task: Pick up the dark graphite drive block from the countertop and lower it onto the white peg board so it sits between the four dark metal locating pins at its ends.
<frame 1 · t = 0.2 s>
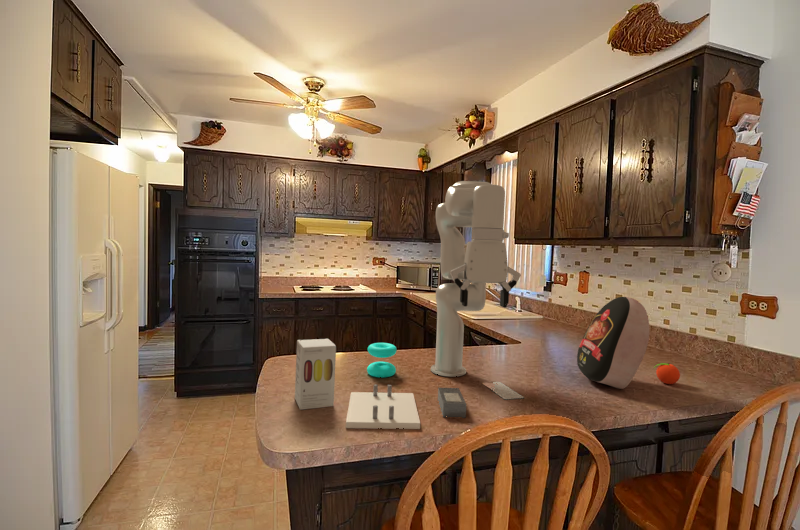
hand: (483, 306, 101), 30 cm above the counter, tool pointing down, fingers open, 9 cm apart
packaged food: (608, 383, 141), on the counter
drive: (450, 409, 113), on the counter
smartphone: (502, 392, 130), on the counter
supplement box: (313, 402, 114), on the counter
donuts: (381, 374, 141), on the counter
white peg board: (382, 411, 109), on the counter
clementine: (665, 383, 143), on the counter
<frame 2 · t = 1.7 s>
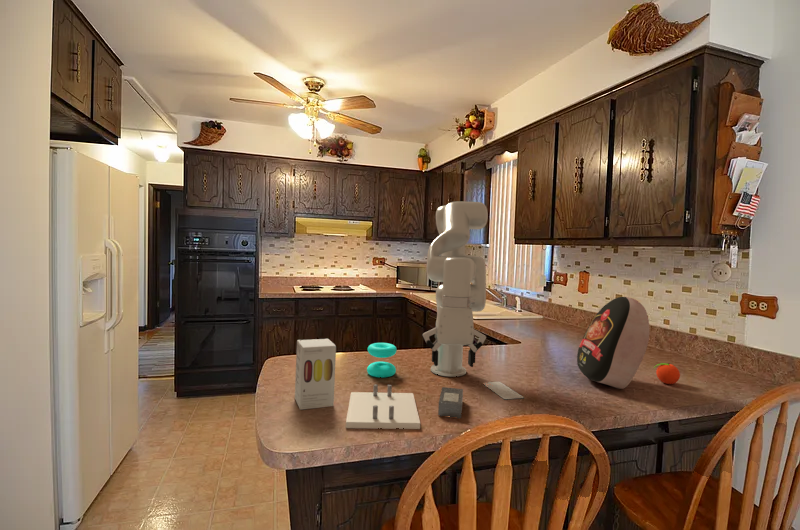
hand: (453, 365, 112), 12 cm above the counter, tool pointing down, fingers open, 9 cm apart
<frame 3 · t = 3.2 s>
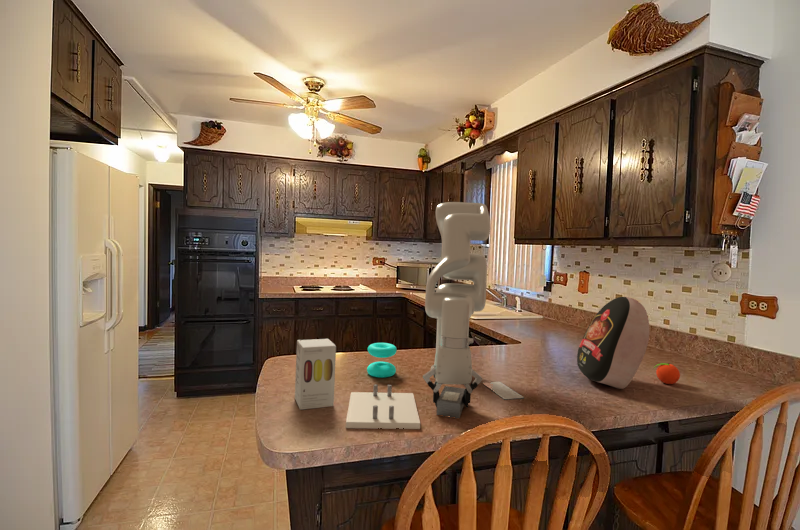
hand: (451, 405, 113), 1 cm above the counter, tool pointing down, fingers closed on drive, 7 cm apart
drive: (451, 408, 113), on the counter, touching gripper
everything else where it was.
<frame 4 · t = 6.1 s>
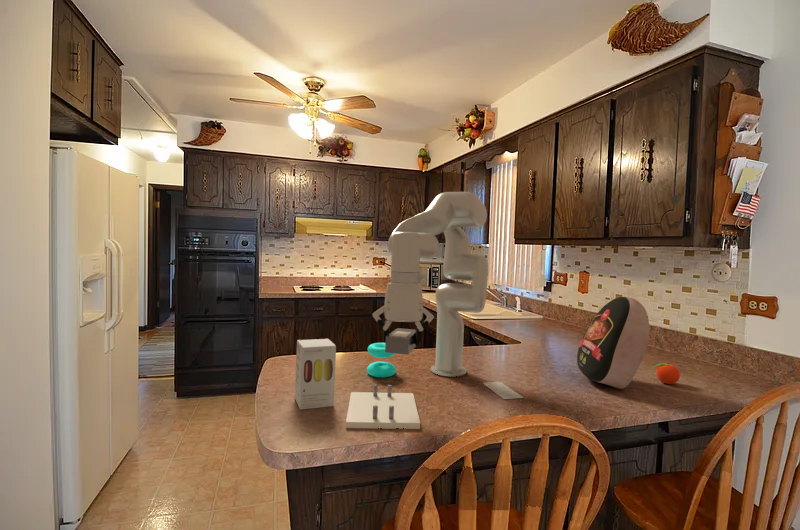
hand: (402, 344, 109), 18 cm above the counter, tool pointing down, fingers closed on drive, 7 cm apart
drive: (402, 348, 109), point 17 cm above the counter, touching gripper
everything else where it was.
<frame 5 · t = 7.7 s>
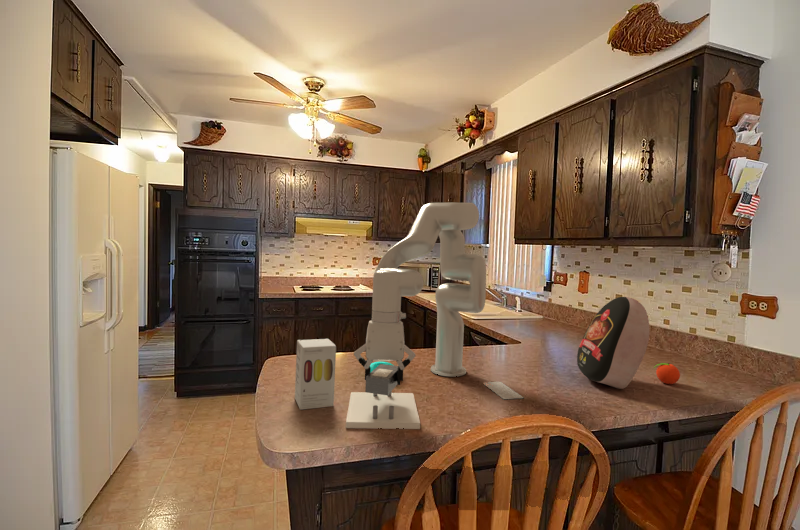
hand: (383, 382, 109), 8 cm above the counter, tool pointing down, fingers closed on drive, 7 cm apart
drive: (383, 386, 109), point 7 cm above the counter, touching gripper
everything else where it was.
when the fingers open (4 cm above the counter, at t = 9.1 s): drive drops 2 cm, resting on white peg board.
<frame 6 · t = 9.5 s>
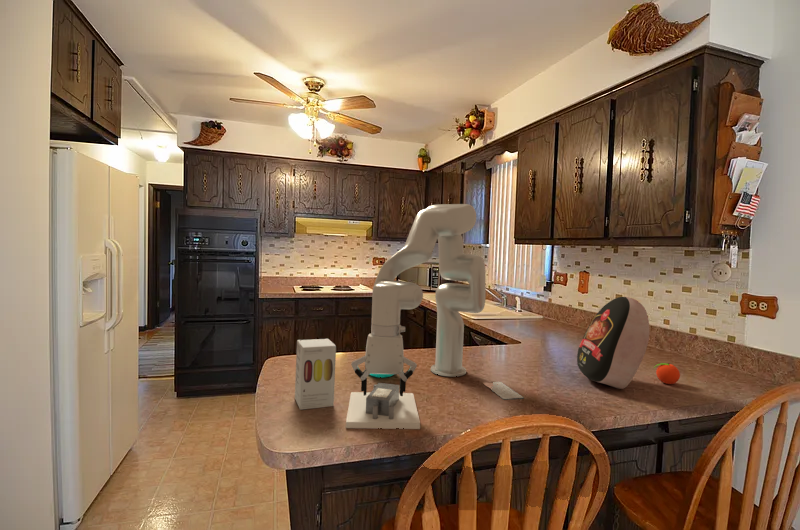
hand: (383, 394, 109), 5 cm above the counter, tool pointing down, fingers open, 9 cm apart
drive: (383, 405, 110), point 1 cm above the counter, touching white peg board
everything else where it was.
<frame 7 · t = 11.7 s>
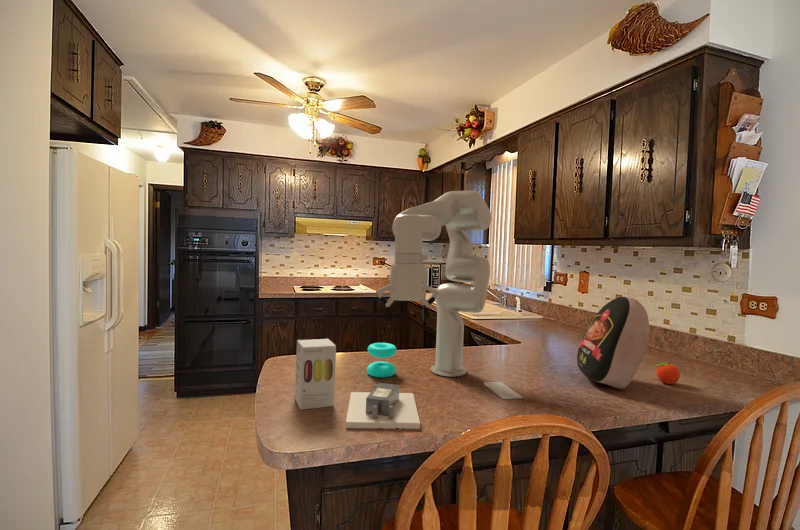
hand: (407, 320, 115), 24 cm above the counter, tool pointing down, fingers open, 9 cm apart
nothing on the counter moved.
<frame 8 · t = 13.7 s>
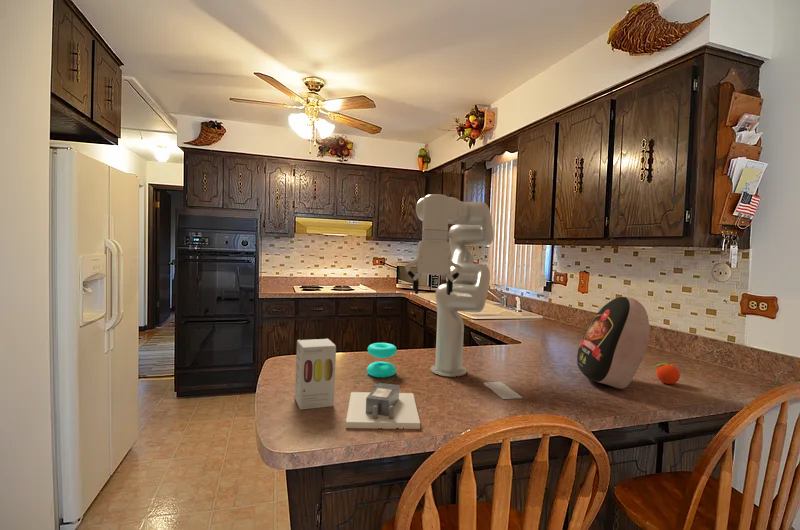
hand: (432, 293, 123), 30 cm above the counter, tool pointing down, fingers open, 9 cm apart
nothing on the counter moved.
at the end: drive 0.2 cm off-centre on the white peg board, point 1.5 cm above the white peg board's base; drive tilted 0°; the gripper is holding nothing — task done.
